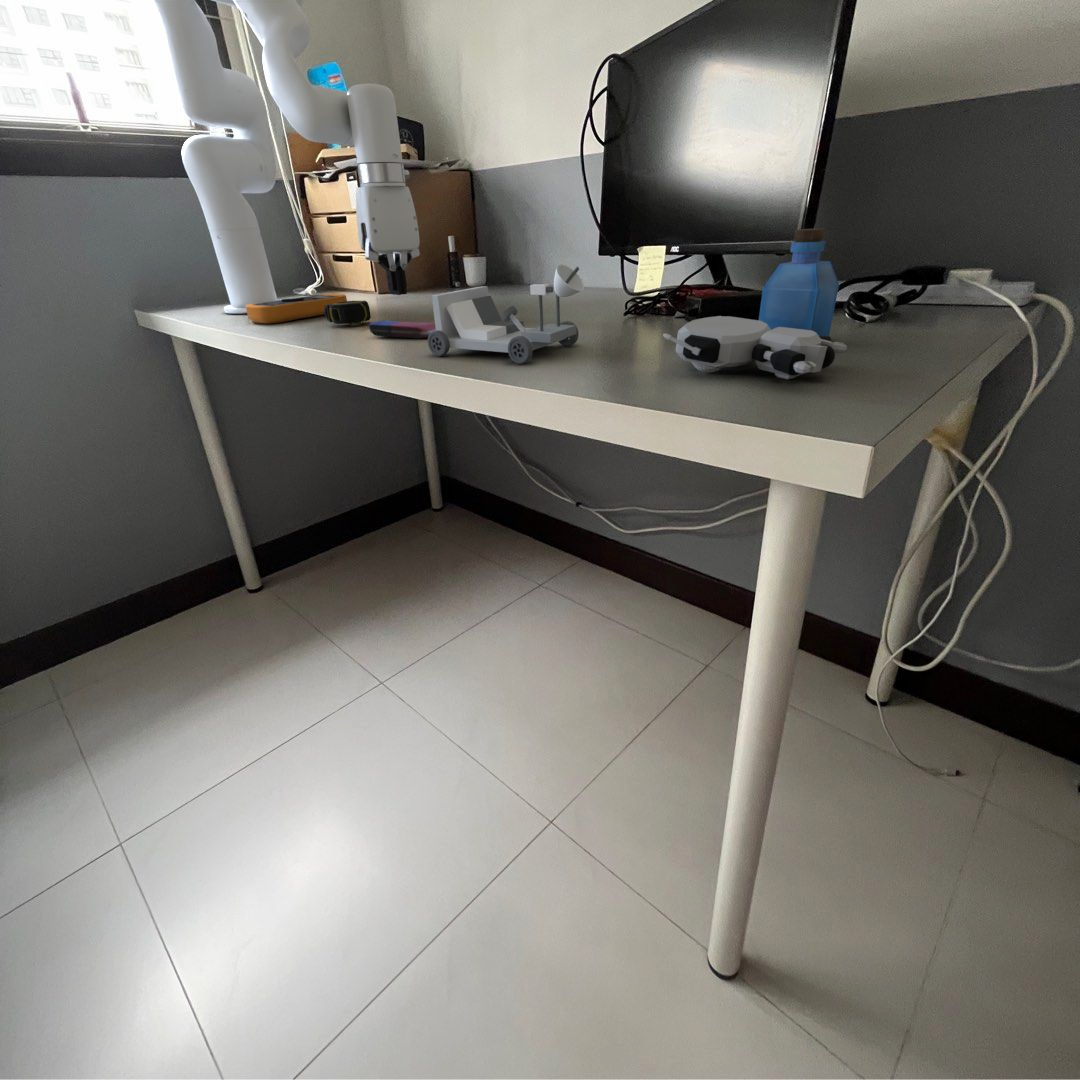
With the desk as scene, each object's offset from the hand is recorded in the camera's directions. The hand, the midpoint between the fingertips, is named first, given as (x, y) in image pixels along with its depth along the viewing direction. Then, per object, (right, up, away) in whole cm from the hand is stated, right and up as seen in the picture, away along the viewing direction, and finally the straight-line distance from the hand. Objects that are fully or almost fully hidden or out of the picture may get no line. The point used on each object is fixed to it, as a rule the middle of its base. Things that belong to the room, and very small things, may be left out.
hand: (398, 293), depth 106 cm
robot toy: (+48, -29, -48) cm, 74 cm away
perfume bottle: (+57, -22, -37) cm, 71 cm away
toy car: (+23, -22, -34) cm, 46 cm away
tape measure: (-7, -8, -6) cm, 13 cm away
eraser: (+6, -15, -20) cm, 26 cm away
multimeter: (-21, -2, +6) cm, 22 cm away
